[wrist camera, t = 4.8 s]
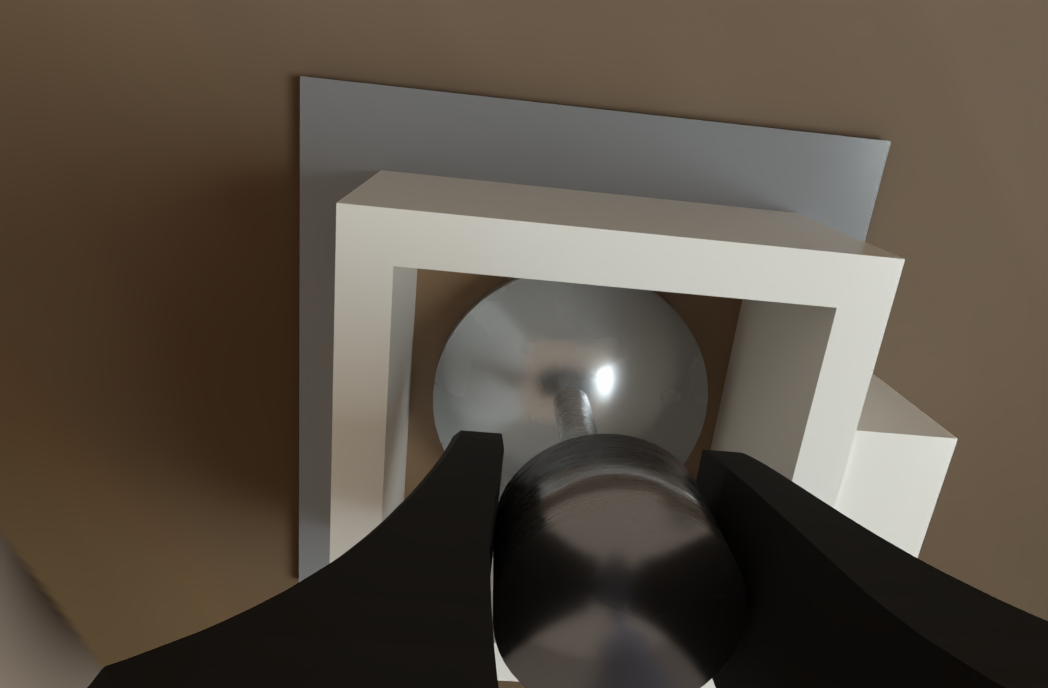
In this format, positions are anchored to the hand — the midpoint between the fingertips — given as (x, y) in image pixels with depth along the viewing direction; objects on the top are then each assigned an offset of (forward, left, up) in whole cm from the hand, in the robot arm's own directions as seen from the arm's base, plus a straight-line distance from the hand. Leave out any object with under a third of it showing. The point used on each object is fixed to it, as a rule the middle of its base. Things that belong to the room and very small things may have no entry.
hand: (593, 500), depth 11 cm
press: (0, 0, -5) cm, 5 cm away
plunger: (0, 0, -4) cm, 4 cm away
